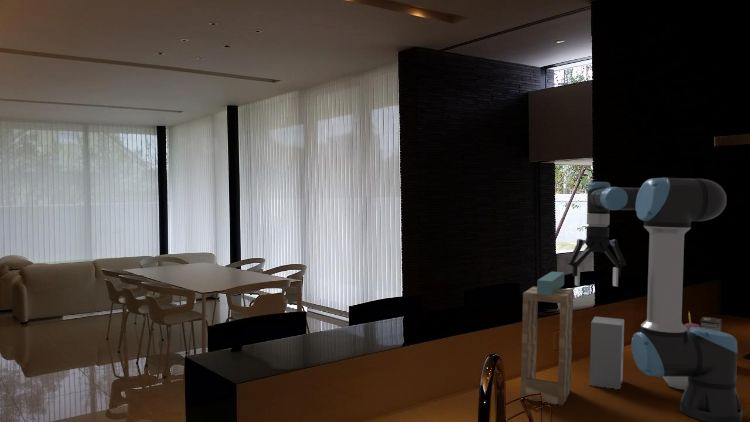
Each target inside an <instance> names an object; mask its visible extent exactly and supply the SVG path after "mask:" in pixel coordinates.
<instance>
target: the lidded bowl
mask: <svg viewBox="0 0 750 422" xmlns="http://www.w3.org/2000/svg"><path fill="white" fill-rule="evenodd" d="M662 378H663V380H664V381H665V382H666V384H667V385H668V387H670V388H674V389H677V390H683V391H685V388H686V386H687V384H688V377H662Z"/></svg>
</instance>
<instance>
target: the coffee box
mask: <svg viewBox="0 0 750 422" xmlns="http://www.w3.org/2000/svg"><path fill="white" fill-rule="evenodd" d="M722 320H723V319H722V318H717V317H711V316H702V317H701V319H700V320H699V325H700V327H701V328H707V329H712V330H717V331H721V332H722V330H723V328H722V325H723V324H722V323H723V321H722Z"/></svg>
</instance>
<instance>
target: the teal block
mask: <svg viewBox="0 0 750 422" xmlns="http://www.w3.org/2000/svg"><path fill="white" fill-rule="evenodd" d="M564 285H565V272H562V271H550V272H549V273H547V274H545V275H543V276H542V277H540V278H539V279H537V282H536V287H537V294H541V295H552V294H554V293H555V292H556V291H557V290H558V289H562V287H563V286H564Z"/></svg>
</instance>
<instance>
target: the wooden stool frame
mask: <svg viewBox="0 0 750 422" xmlns="http://www.w3.org/2000/svg"><path fill="white" fill-rule="evenodd" d="M539 302H541V303H542V302H543V303H555V304H559V307H560V308H559V336H558V337H559V339H558V341H559V343H558V344H559V345H558V371H557V372H558V373H557V374H558V375H557V376H558V377H557V381H553V380H552V381H551V380H545V379H538V378H536V377H537V353H538V352H537V347H538V343H537V342H538V307H539V306H538V305H539V304H538V303H539ZM573 307H574V289H569V288H568V289H567V288H560V289H558V290H557V291H556V292H555V293H554V294H552V295H541V294H537V286H534V285H533V286H531V287H530V288H528V289H527V290H526V291H523V293H522V320H521V323H522V324H521V325H522V326H521V327H522V329H521V366H520V398H521V397H524V396H527V395H531V394H538V393H541V396H542V401H543V402H542V403H544V402H548V403H547V404H550V403H551V404H550V405H556V404H559V405H558V406H564V405H565V403H564V402H566V401H567V399H568V398H569V397H568V396H569V395H570V393H571V390H572V389H571V387H572V386H571V385H572V384H571V383H572V348H573V347H572V345H573V316H574V315H573V311H574V310H573V309H574V308H573ZM531 398H532V399H531V400H532V402H537V403H539V402H538V401H539V400H540V397H539V396H534V397H531ZM531 400H530V401H531ZM563 404H564V405H563Z"/></svg>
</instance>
